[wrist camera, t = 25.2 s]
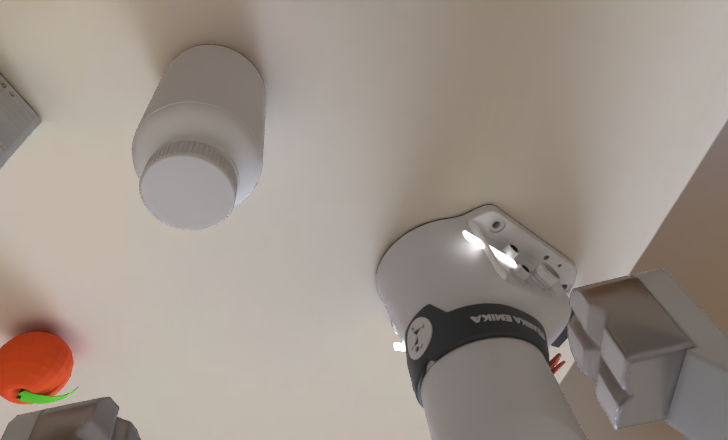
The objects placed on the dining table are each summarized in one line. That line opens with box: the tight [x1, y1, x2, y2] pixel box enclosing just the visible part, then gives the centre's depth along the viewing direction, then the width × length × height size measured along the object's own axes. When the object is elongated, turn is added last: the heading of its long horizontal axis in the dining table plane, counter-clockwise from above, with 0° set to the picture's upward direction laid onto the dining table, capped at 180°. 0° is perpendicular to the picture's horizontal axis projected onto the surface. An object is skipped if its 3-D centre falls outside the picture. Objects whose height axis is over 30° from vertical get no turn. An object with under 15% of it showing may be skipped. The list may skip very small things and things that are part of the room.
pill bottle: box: [132, 45, 266, 230], centre depth 36 cm, size 8×8×15 cm
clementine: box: [0, 331, 78, 404], centre depth 52 cm, size 8×7×7 cm
